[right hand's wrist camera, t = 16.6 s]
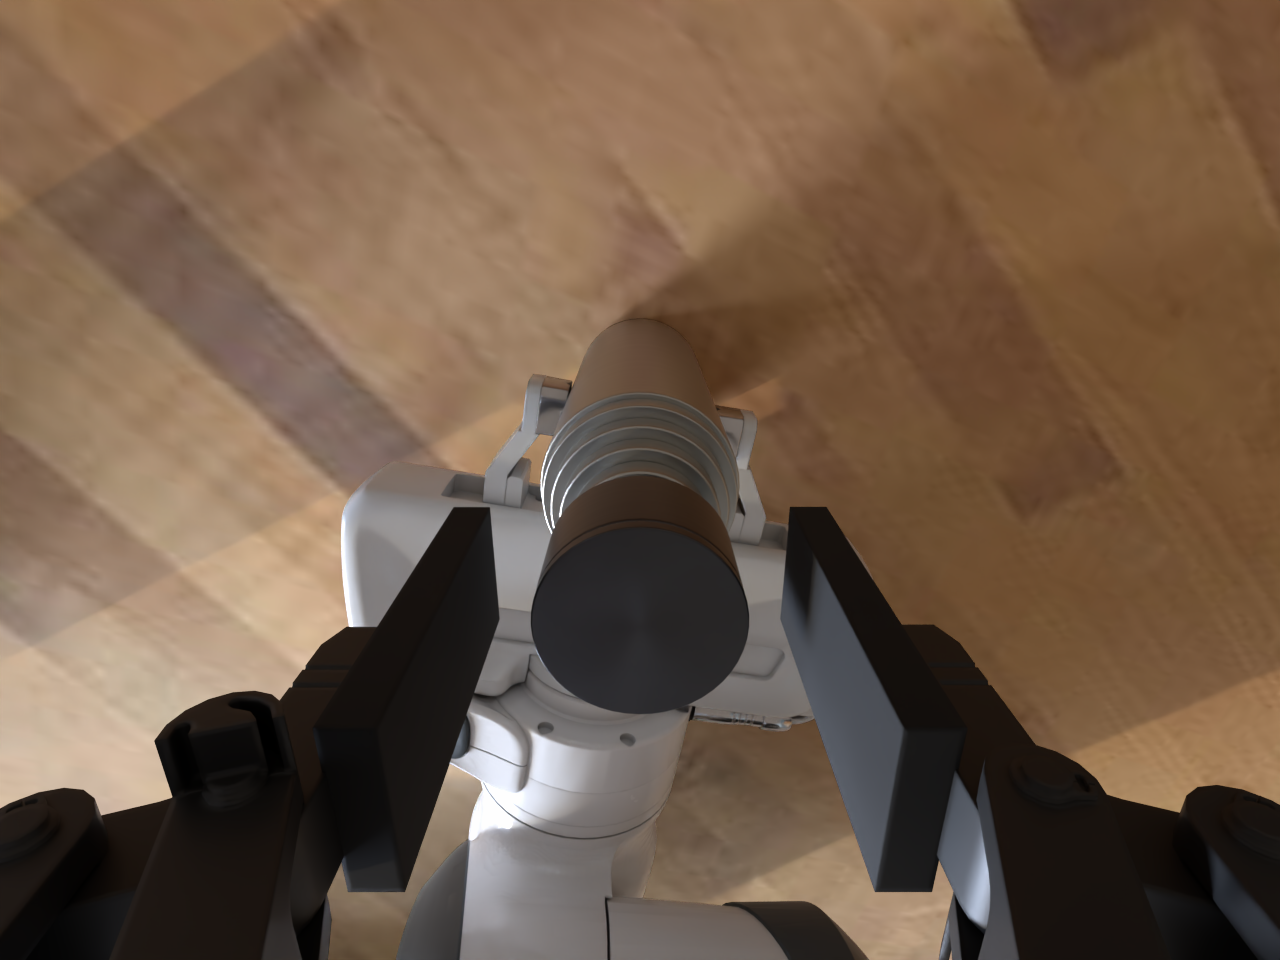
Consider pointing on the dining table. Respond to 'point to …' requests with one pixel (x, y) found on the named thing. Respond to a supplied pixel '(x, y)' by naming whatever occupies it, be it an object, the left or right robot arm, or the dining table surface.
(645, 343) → the bottle
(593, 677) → the cap
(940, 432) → the dining table surface
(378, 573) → the left robot arm
